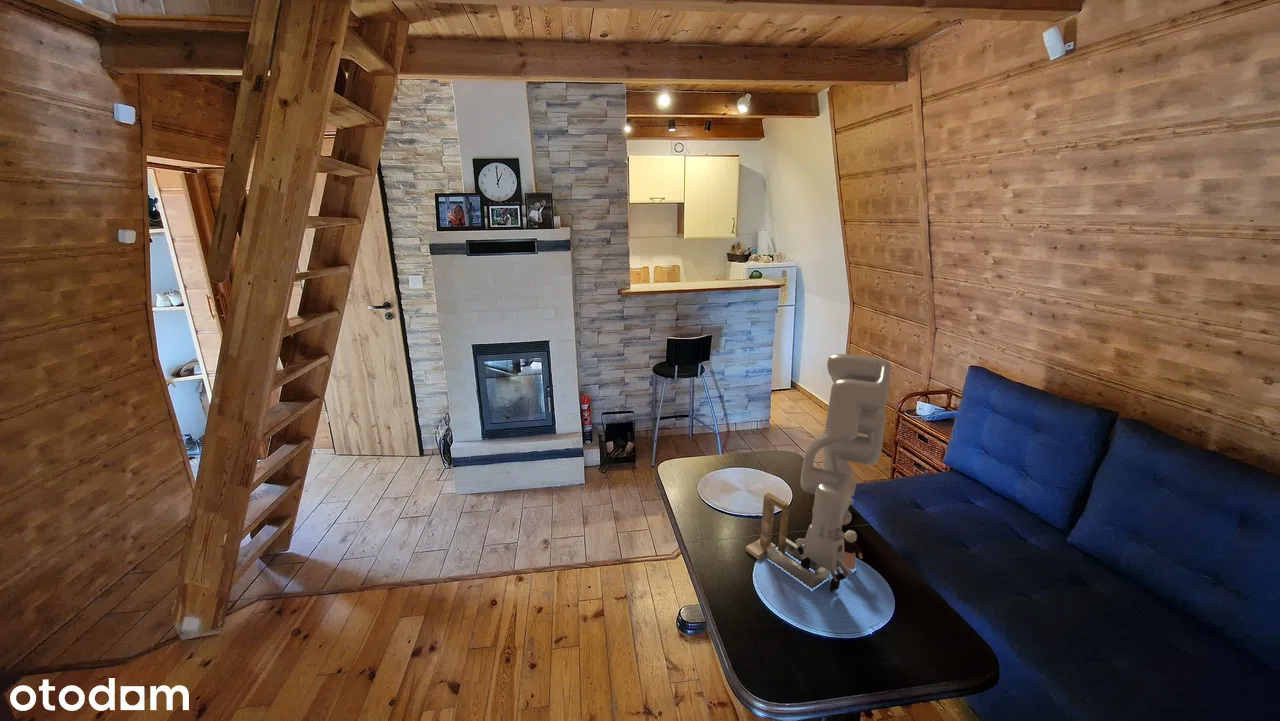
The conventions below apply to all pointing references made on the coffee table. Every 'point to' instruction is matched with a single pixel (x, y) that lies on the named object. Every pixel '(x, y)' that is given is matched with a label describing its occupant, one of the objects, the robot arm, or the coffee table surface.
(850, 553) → the grandmother figurine
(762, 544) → the pin stand
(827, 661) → the coffee table surface
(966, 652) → the coffee table surface
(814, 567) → the steel C-link
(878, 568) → the coffee table surface
